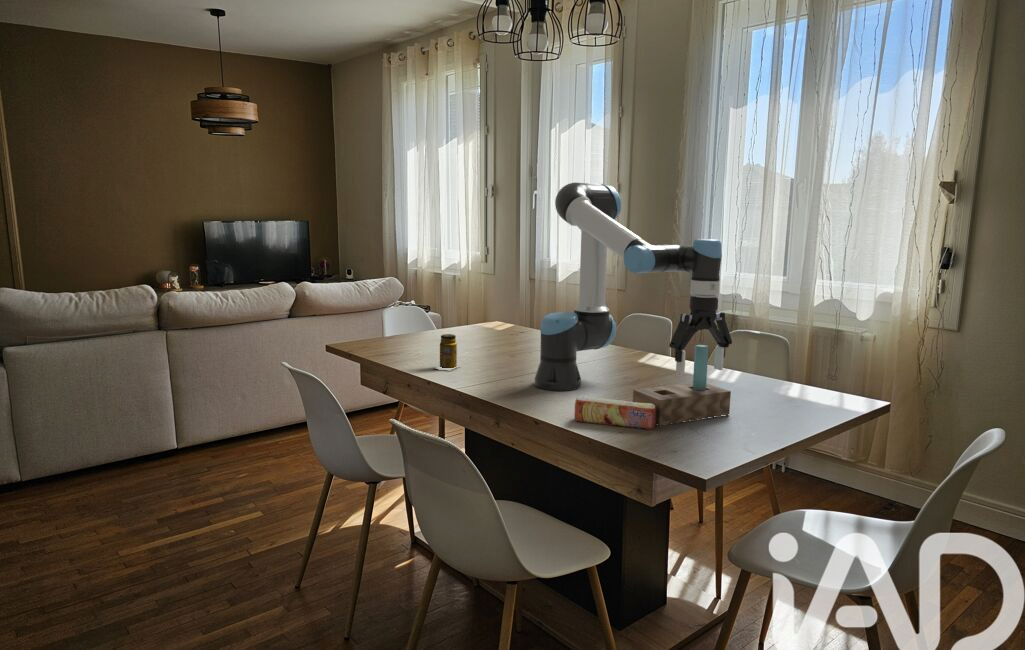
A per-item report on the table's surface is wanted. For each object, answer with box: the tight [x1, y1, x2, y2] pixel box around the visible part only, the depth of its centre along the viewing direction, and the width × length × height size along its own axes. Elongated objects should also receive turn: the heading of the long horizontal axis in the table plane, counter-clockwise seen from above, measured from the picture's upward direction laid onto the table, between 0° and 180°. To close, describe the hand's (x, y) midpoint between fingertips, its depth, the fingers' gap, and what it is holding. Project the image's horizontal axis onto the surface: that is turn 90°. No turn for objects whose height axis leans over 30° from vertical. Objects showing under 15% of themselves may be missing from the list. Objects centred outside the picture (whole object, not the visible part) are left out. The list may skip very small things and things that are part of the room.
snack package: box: [574, 395, 656, 430], centre depth 180 cm, size 21×7×7 cm, turn 72°
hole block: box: [632, 382, 732, 426], centre depth 189 cm, size 24×12×7 cm, turn 116°
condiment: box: [439, 333, 458, 368], centre depth 243 cm, size 7×8×12 cm
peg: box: [692, 344, 709, 391], centre depth 190 cm, size 4×4×18 cm
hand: (699, 371), depth 190 cm, fingers open, 13 cm apart
